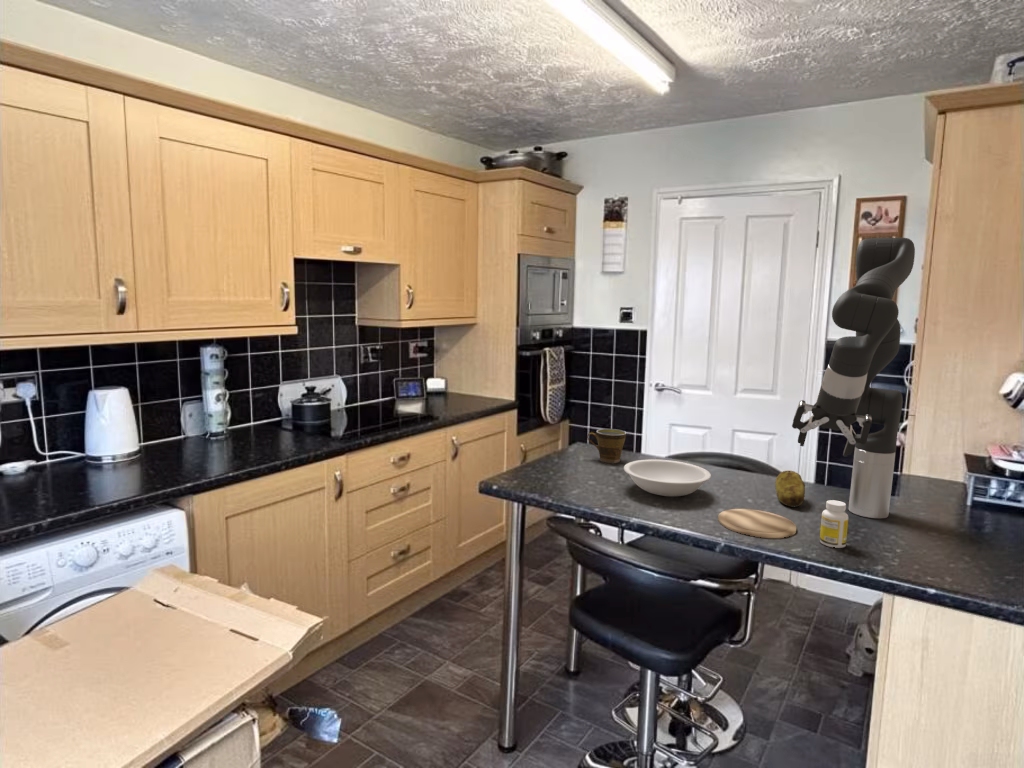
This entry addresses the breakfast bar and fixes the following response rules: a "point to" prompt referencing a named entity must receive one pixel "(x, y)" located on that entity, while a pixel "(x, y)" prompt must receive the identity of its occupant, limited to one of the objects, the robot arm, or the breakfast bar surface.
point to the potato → (790, 488)
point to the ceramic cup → (609, 444)
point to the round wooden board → (757, 523)
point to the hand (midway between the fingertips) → (823, 449)
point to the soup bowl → (667, 476)
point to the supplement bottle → (834, 524)
